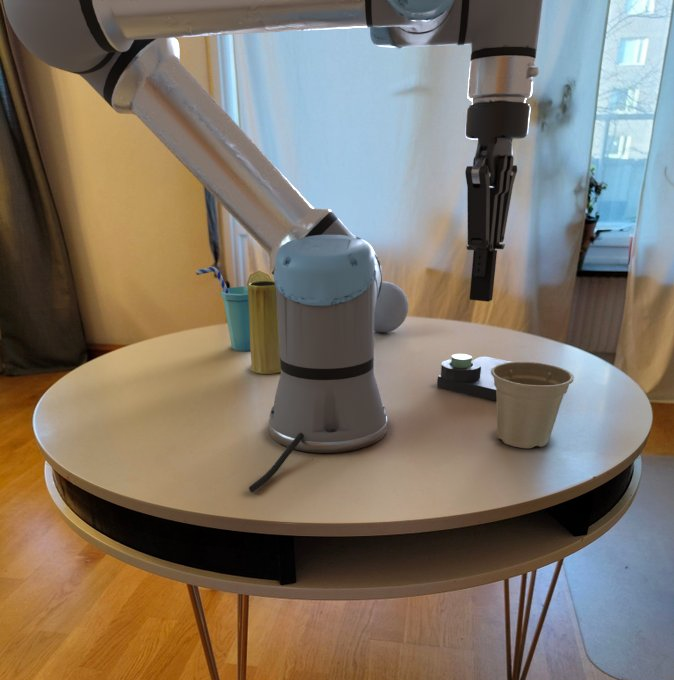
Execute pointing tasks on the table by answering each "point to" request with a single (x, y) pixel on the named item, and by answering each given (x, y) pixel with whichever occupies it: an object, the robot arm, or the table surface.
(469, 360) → the button
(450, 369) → the scale
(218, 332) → the table surface
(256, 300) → the vase
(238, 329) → the cup
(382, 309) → the decorative stone
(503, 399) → the flower pot
